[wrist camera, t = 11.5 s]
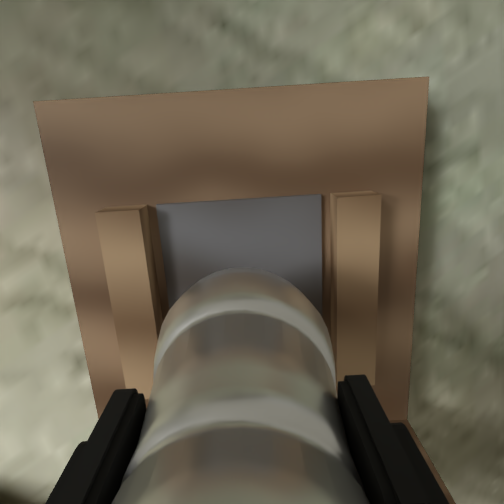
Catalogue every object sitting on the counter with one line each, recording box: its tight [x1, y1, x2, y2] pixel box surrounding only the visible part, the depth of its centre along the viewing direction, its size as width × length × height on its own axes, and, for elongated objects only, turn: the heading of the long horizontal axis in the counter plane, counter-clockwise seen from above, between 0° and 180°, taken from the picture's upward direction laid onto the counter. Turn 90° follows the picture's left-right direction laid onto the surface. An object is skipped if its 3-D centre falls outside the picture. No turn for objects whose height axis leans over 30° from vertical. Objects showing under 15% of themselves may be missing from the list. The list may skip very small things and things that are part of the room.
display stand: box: [33, 77, 456, 504], centre depth 15 cm, size 20×18×16 cm
